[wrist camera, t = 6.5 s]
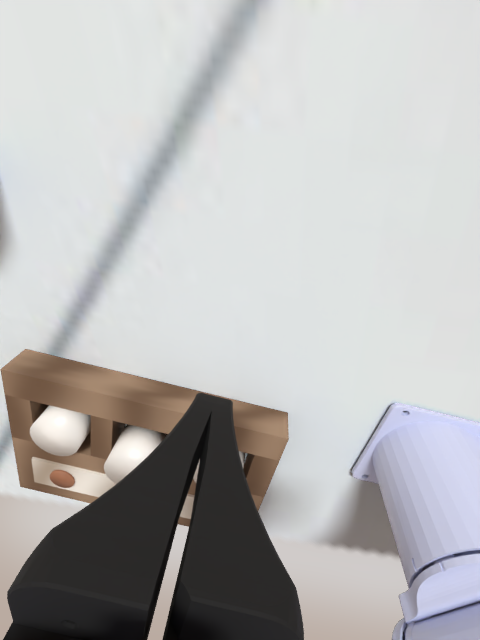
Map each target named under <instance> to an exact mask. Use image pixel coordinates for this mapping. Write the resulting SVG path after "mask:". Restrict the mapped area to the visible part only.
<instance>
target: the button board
mask: <svg viewBox="0 0 480 640" xmlns="http://www.w3.org/2000/svg"><path fill="white" fill-rule="evenodd" d="M1 375H2V380H3V386H4V392H5V398H6V404H7V410H8V416H9V422H10V428H11V434H12V440H13V446H14V452H15V458H16V463H17V469H18V475H19V481H20V487H24V488H28V489H33V490H37V491H41V492H45V493H49V494H54V495H58V496H62V497H66V498H70V499H75V500H79V501H83V502H87V503H92V502H93V501H95V500H96V499H97V498H99V497H100V496H101V495H103V494H104V493H105V492H107V491H108V490H109V489H111V488H112V487H113V486H115V485H116V484H115V483H114V482H112V481H111V480H110V479H109V478H108V477H107V475H106V474H105V471H104V464H105V462H106V460H107V458H108V456H109V454H110V453H111V451H112V449H113V447H114V445H115V443H116V442H117V440H118V438H119V436H120V434H121V432H122V431H123V429H124V427H125V424H129V425H133V426H137V427H141V428H145V429H149V430H154V431H158V432H162V433H166V434H169V433H170V432H171V431H172V429H173V428H174V427H175V426H176V424H177V423H178V422H179V421H180V419H181V418H182V417H183V415H184V414H185V413H186V411H187V410H188V408H189V407H190V405H191V404H192V402H193V400H194V399H195V396H196V394H198V393H200V391H196V390H192V389H188V388H184V387H180V386H175V385H171V384H167V383H163V382H159V381H155V380H151V379H147V378H143V377H139V376H134V375H130V374H126V373H122V372H118V371H114V370H110V369H106V368H102V367H97V366H93V365H89V364H85V363H81V362H77V361H73V360H69V359H65V358H61V357H56V356H52V355H48V354H44V353H40V352H36V351H32V350H28V349H25V350H24V351H22V352H21V353H20V354H19V355H18V356H16V357H15V358H14V359H13V360H11V361H10V362H9V363H8V364H7V365H5V366H4V367H3V368H2V369H1ZM201 393H204V392H201ZM205 394H208V393H205ZM209 395H212V394H209ZM213 396H217V395H213ZM217 397H221V396H217ZM221 398H225V397H221ZM225 399H229V398H225ZM229 400H231V401H232V402H233V420H234V429H235V435H236V440H237V445H238V450H239V451H241V452H245V453H248V456H247V458H246V461H245V464H244V468H243V470H244V473H245V477H246V480H247V483H248V486H249V489H250V492H251V495H252V498H253V500H254V503H255V506H256V508H257V511H258V510H259V508H260V505H261V503H262V500H263V498H264V496H265V493H266V491H267V489H268V486H269V484H270V482H271V479H272V477H273V475H274V472H275V470H276V467H277V465H278V463H279V460H280V458H281V456H282V453H283V451H284V449H285V446H286V444H287V442H288V439H289V438H288V413H286V412H282V411H278V410H274V409H270V408H266V407H262V406H258V405H254V404H249V403H245V402H241V401H237V400H233V399H229ZM49 405H50V406H54V407H58V408H62V409H67V410H71V411H75V412H79V413H83V414H87V415H91V431H90V432H89V434H88V435H87V437H86V438H85V440H84V441H83V443H82V444H81V446H80V447H79V449H78V450H77V452H76V453H74V454H73V455H70V456H57V455H53V454H50V453H48V452H46V451H44V450H43V449H41V448H40V447H38V446H37V445H36V444H35V442H34V441H33V440H32V438H31V435H30V428H31V426H32V425H33V423H34V422H35V421H36V420H37V419H38V418H39V417H40V415H41V414H42V413H43V412H44V411H45V410H46V408H47V407H48V406H49ZM195 488H196V482H195V481H194V479H193V480H192V483H191V486H190V489H189V491H188V494H187V497H186V500H185V503H184V506H183V509H182V511H181V514H180V517H179V521H178V524H180V525H184V526H189V525H190V520H191V514H192V508H193V501H194V495H195Z"/></svg>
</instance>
